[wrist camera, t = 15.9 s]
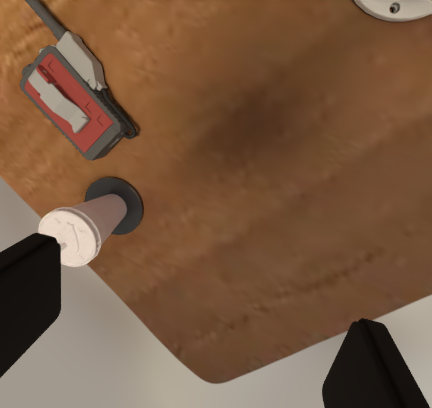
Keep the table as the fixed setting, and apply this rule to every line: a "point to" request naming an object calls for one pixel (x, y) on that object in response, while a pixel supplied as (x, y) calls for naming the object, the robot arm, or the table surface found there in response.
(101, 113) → the walkie-talkie
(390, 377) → the robot arm
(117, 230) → the coaster
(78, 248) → the smoothie
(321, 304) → the table surface
